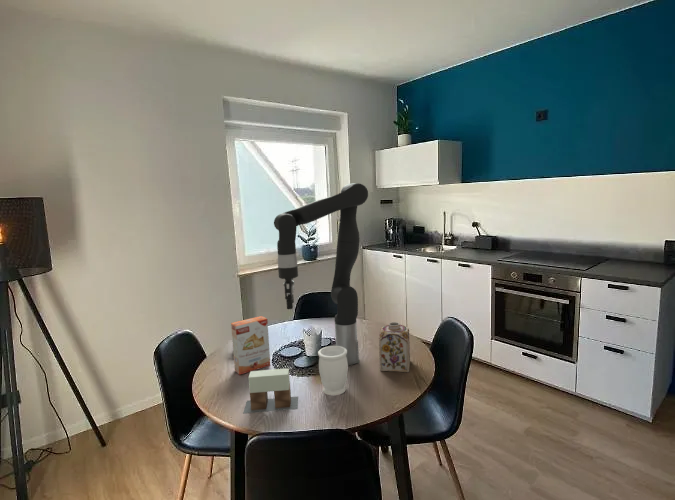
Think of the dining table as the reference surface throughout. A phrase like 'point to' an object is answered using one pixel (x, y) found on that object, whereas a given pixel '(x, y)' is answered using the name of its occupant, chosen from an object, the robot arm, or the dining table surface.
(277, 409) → the mat
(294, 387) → the dining table surface
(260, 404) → the pillar
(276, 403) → the pillar
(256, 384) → the plank
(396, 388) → the dining table surface
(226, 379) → the dining table surface
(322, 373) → the jar
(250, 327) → the cracker box
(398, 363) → the decorative jar
